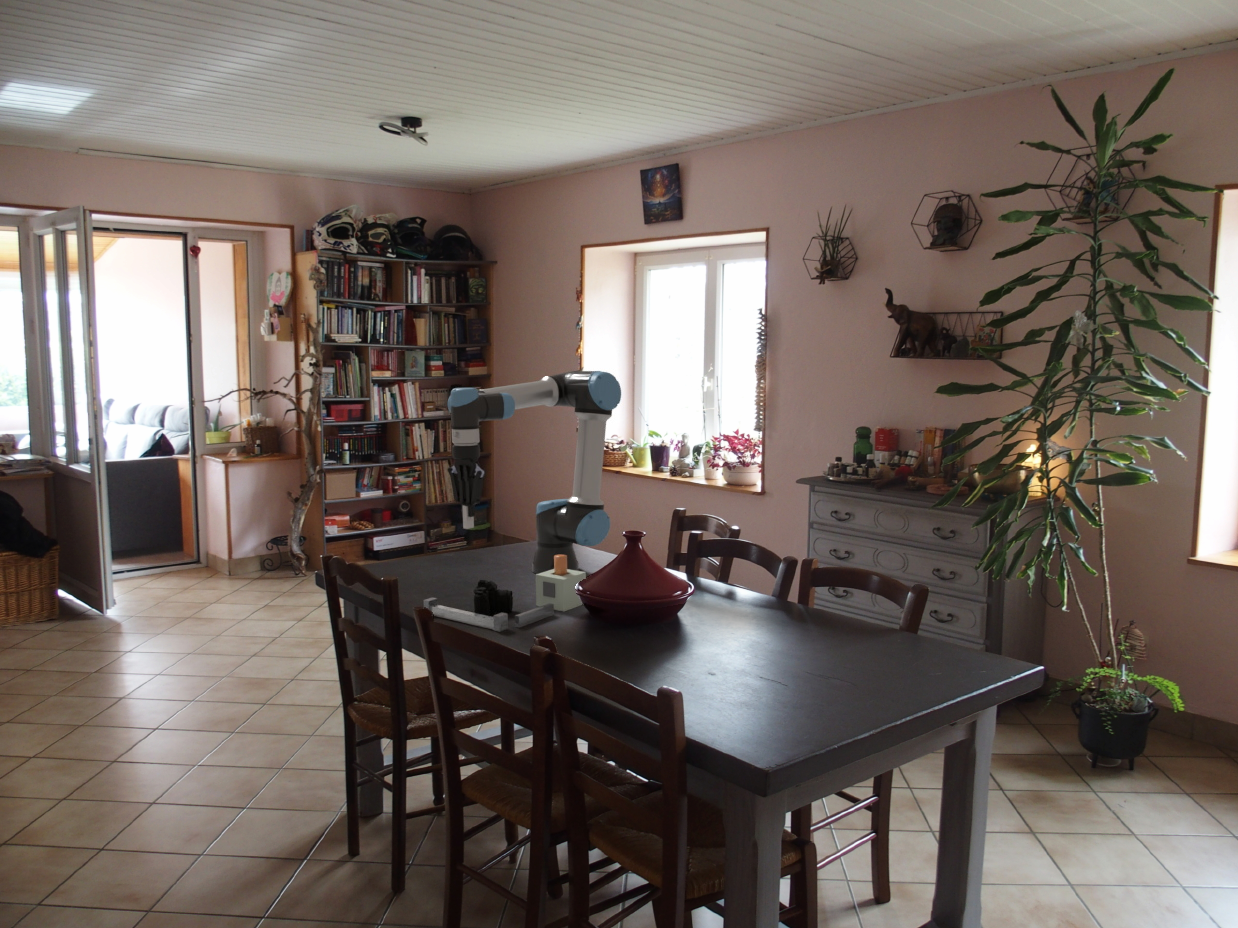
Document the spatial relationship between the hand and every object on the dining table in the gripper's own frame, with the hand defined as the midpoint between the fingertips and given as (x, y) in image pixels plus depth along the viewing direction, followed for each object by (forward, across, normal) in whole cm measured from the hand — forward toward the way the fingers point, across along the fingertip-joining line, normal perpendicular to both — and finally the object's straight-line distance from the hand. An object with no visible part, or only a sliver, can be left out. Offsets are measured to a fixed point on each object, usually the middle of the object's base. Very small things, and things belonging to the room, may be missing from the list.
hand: (468, 527), depth 264 cm
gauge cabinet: (+22, +20, +15) cm, 34 cm away
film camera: (+23, +10, -2) cm, 25 cm away
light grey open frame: (+22, +11, -4) cm, 25 cm away
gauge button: (+14, +21, +15) cm, 29 cm away
